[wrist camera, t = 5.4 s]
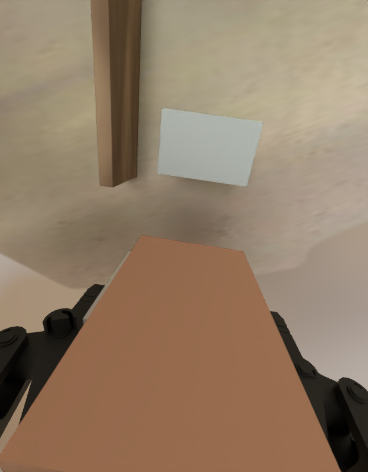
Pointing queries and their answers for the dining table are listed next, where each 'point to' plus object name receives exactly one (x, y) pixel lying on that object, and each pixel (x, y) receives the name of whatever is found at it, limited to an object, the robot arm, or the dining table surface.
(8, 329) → the robot arm
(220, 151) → the light grey rectangular block
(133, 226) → the dining table surface
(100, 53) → the brown wooden board
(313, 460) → the tan rectangular block
